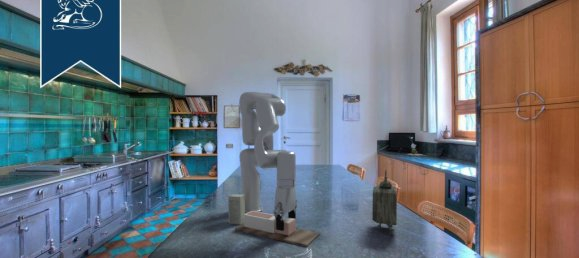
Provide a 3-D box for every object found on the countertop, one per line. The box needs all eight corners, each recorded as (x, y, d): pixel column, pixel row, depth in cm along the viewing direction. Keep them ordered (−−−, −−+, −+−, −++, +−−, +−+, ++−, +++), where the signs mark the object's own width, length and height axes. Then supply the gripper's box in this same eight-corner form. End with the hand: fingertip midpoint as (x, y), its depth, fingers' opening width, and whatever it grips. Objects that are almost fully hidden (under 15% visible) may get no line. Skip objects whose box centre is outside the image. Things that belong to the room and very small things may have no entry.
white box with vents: (243, 226, 112) (243, 214, 112) (252, 222, 117) (252, 210, 117) (274, 233, 105) (274, 220, 105) (281, 228, 110) (281, 215, 110)
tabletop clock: (396, 237, 104) (397, 173, 104) (372, 234, 107) (372, 171, 107) (395, 225, 117) (396, 168, 117) (373, 222, 121) (374, 167, 120)
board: (235, 229, 110) (235, 227, 110) (252, 220, 121) (252, 219, 121) (307, 247, 95) (307, 244, 95) (319, 235, 106) (319, 233, 106)
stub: (275, 232, 105) (275, 220, 105) (282, 227, 110) (282, 216, 110) (288, 235, 102) (288, 223, 102) (295, 230, 107) (295, 218, 107)
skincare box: (245, 221, 120) (245, 194, 120) (240, 225, 116) (240, 196, 116) (232, 220, 122) (233, 193, 122) (227, 223, 118) (227, 195, 118)
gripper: (288, 178, 115) (288, 218, 115) (266, 185, 100) (266, 231, 100) (304, 180, 112) (304, 221, 111) (283, 187, 96) (283, 235, 96)
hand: (286, 226), depth 106 cm, fingers open, 9 cm apart
